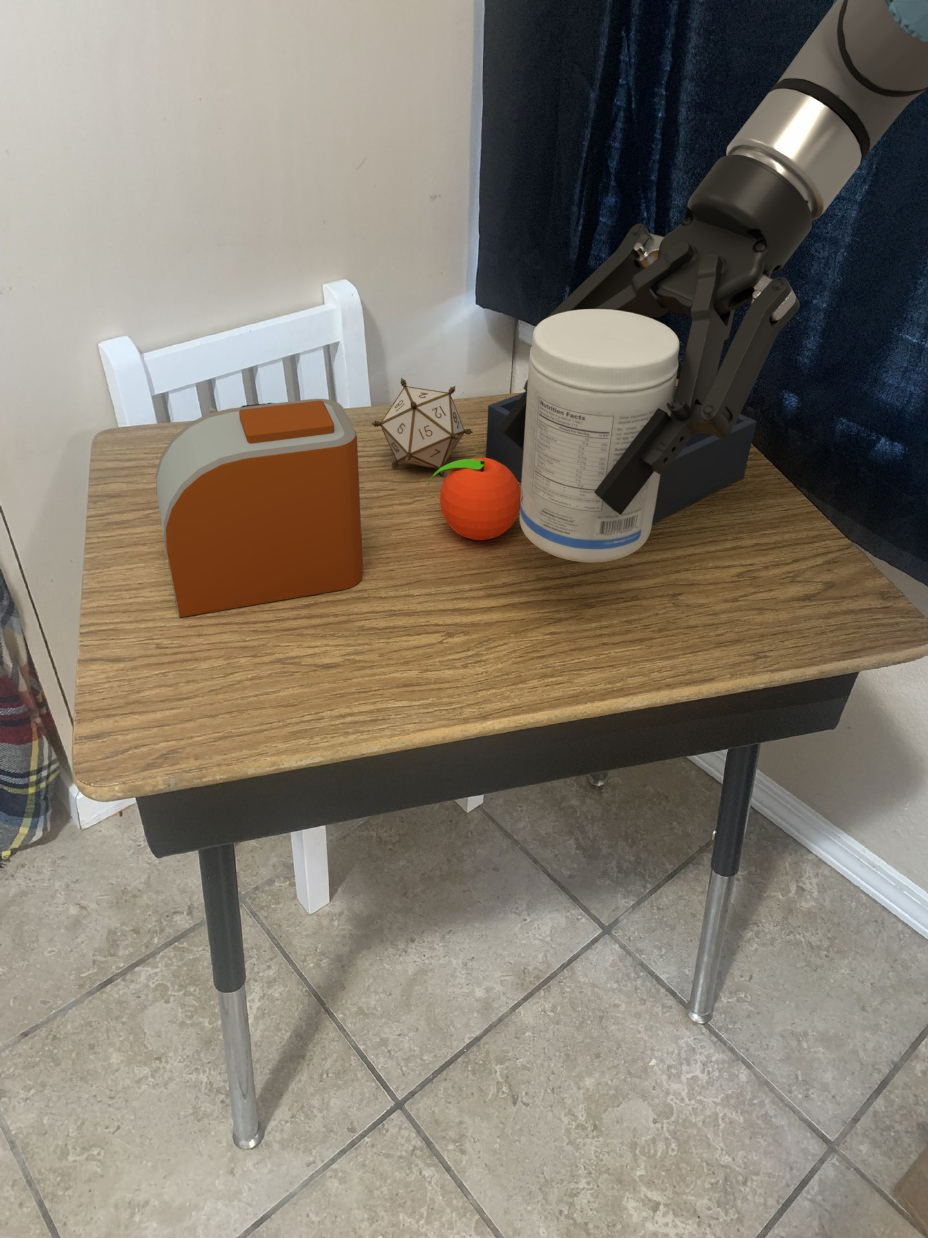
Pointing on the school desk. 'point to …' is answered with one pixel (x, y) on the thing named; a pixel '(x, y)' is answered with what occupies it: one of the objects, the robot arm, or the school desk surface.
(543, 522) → the supplement tub
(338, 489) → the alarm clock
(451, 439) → the game die
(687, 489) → the bin
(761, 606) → the school desk surface
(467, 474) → the clementine
